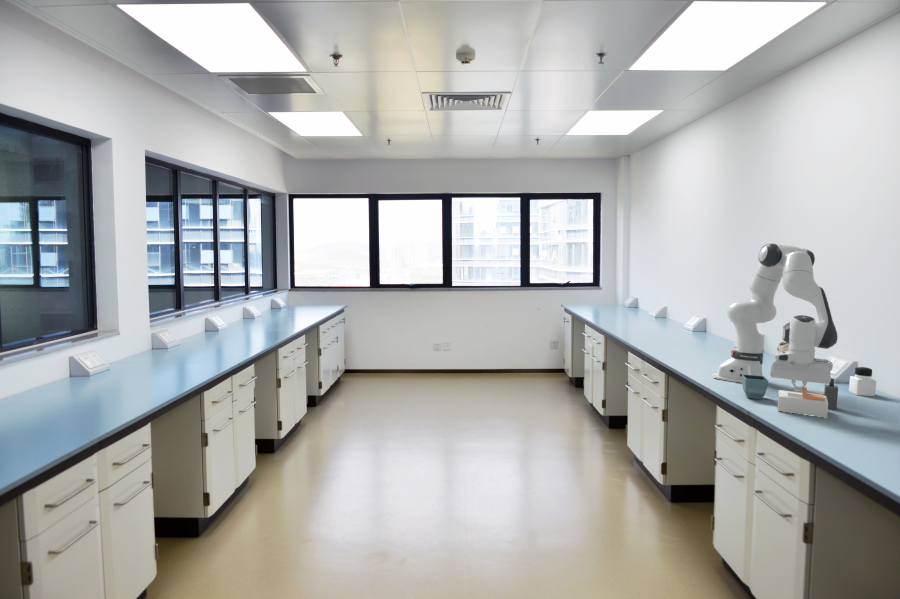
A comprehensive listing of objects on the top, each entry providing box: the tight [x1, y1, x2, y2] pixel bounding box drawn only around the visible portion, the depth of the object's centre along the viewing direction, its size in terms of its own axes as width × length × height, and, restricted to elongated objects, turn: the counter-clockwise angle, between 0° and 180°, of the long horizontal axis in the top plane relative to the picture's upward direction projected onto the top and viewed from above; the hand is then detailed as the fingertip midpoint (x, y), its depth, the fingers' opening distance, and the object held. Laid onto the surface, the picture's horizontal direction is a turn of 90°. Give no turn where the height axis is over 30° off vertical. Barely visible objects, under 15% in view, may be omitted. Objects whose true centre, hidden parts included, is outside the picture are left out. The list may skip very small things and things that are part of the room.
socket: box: [777, 389, 829, 419], centre depth 214 cm, size 16×12×6 cm
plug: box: [823, 378, 839, 411], centre depth 219 cm, size 4×4×12 cm
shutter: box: [801, 385, 825, 401], centre depth 212 cm, size 7×7×3 cm
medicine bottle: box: [848, 366, 877, 397], centre depth 241 cm, size 7×7×12 cm
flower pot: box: [741, 374, 769, 400], centre depth 233 cm, size 9×9×9 cm
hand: (798, 391), depth 214 cm, fingers closed
